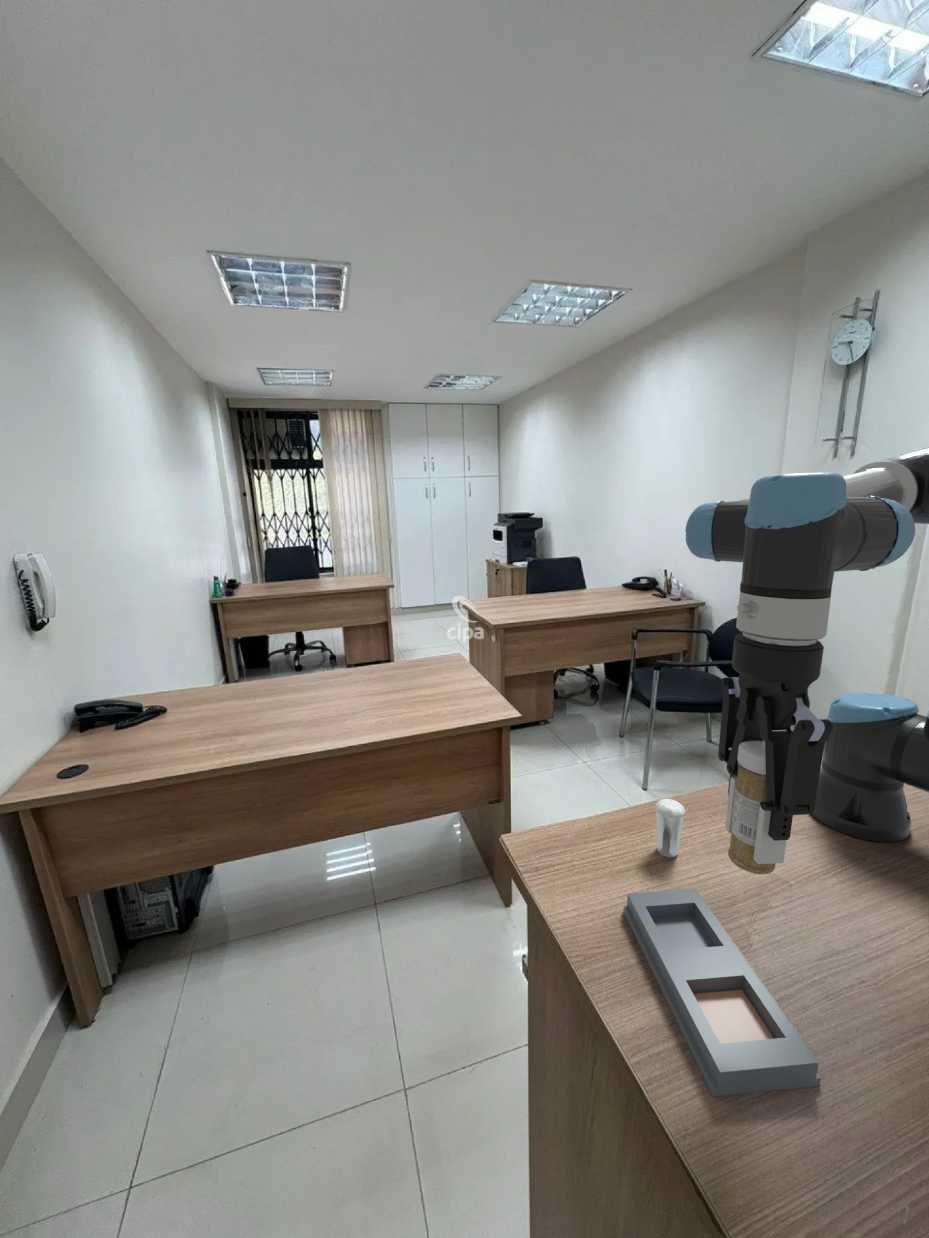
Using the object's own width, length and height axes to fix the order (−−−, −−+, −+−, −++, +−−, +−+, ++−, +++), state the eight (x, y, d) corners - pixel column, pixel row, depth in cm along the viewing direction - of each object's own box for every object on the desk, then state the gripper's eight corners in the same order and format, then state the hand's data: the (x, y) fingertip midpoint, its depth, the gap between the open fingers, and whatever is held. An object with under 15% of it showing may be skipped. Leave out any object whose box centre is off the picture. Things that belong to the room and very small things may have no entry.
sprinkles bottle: (782, 865, 53) (798, 751, 50) (760, 882, 51) (776, 763, 48) (740, 843, 57) (753, 735, 54) (718, 857, 54) (730, 745, 52)
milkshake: (684, 866, 79) (689, 810, 77) (650, 854, 82) (653, 800, 80) (689, 849, 83) (693, 796, 81) (655, 839, 86) (659, 787, 84)
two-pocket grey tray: (697, 906, 71) (698, 888, 71) (819, 1085, 49) (823, 1062, 48) (623, 911, 71) (624, 893, 70) (712, 1096, 48) (715, 1072, 48)
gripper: (695, 619, 57) (680, 800, 62) (806, 662, 40) (773, 909, 45) (758, 617, 57) (738, 798, 62) (894, 660, 40) (852, 905, 45)
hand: (752, 844), depth 53 cm, fingers closed on sprinkles bottle, 4 cm apart
